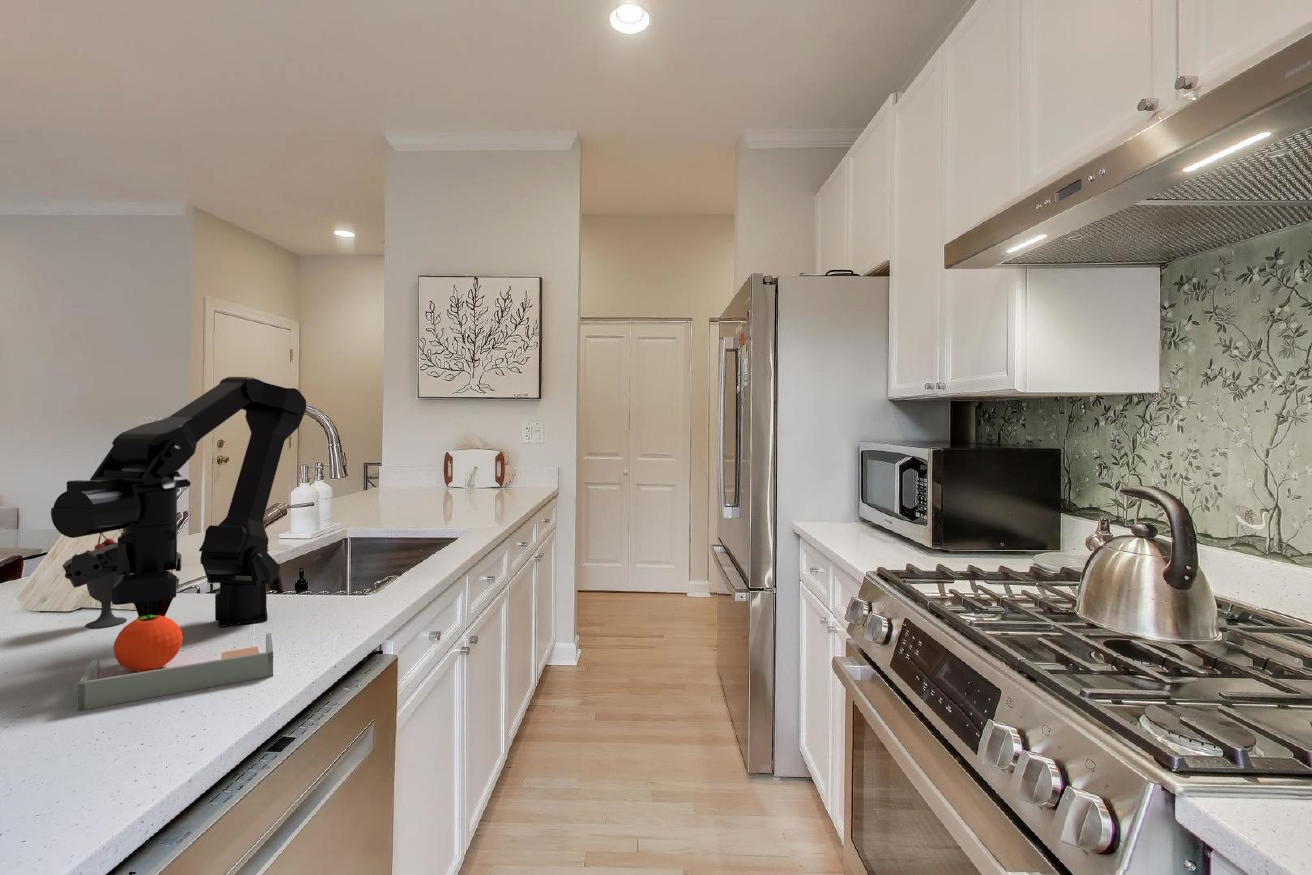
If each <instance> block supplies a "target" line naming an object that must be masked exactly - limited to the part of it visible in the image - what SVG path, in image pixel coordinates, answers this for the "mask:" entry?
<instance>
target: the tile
mask: <svg viewBox="0 0 1312 875" xmlns="http://www.w3.org/2000/svg"><path fill="white" fill-rule="evenodd" d="M257 653H260V651H259V647H258V646H252V647H247V648H240V649H235V650H229V651H224V652H221V653H220V654H221V655H220V656H221V659H226V658H232V657H239V656H245V655H251V654H257Z"/></svg>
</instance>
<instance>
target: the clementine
mask: <svg viewBox="0 0 1312 875" xmlns="http://www.w3.org/2000/svg"><path fill="white" fill-rule="evenodd" d="M183 638H184V637H183V632H182V629H181V628H180V626H179V624H178V623H176V622H175V621H174V620H173V619H171V618H170V617H166V616H165V617H164V616H160V615H152V614H150V615H144V616H137V618H136V619H134V620H133V621H131V622H130V623H128V624H127V625H125V626H124V627H123V628H122V629H121V630H120V632H118V635H117V636H116V638H115V641H114V642H113V643H114V644H113V649H112V651H113V655H114V658H115V660H116V661H117V662H118V664H119V665H120V666H121V667H123V668H124V669H126V670H130V671H133V672H135V673H139V672H145V671H151V670H157V669H161V668H162V667H164V666H166V665H167V664H168V663H170V662H172V660H173V659H174V658H175V657H176V656H177V655H178V654H179V651H180V649H181V648H182V644H183Z"/></svg>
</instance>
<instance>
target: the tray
mask: <svg viewBox="0 0 1312 875" xmlns="http://www.w3.org/2000/svg"><path fill="white" fill-rule="evenodd" d="M273 648H274V647H273V637H272V632H269V633H265V652H259V653H257V654H251V655H245V656H239V657H232V658H226V659H214V660H208V661H203V662H202V661H201V662H195V663H191V664H189V663H188V664H182V665H177V666H170V667H165V668H157V669H155V670H151V671H145V672H134V673H133V672H132V673H128V674H119V675H115V676H110V677H109V676H108V677H103V678H101V668H100V666H101V657H100V658H99V657H98V658H93V659H92V661H91V662H90V663H89V666H88V667H87V668H86V670H85V671H84V673H83V675H82V677H80V680H79V681H78V683H77V711H79V712H80V711H83V710H89V709H90V710H91V709H95V708H101V707H107V706H112V705H117V704H122V703H129V702H134V701H139V700H140V701H141V700H145V699H151V698H157V697H162V696H167V695H173V694H177V693H179V694H180V693H184V692H190V691H195V690H201V689H205V688H213V687H218V686H223V685H228V684H234V683H240V682H245V681H246V682H247V681H250V680H257V679H262V678H268V677H273V676H274V649H273Z"/></svg>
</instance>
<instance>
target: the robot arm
mask: <svg viewBox="0 0 1312 875" xmlns="http://www.w3.org/2000/svg"><path fill="white" fill-rule="evenodd" d="M241 410H243V411H245V416H244V418H245V420H246V423H247V426H248V428H249V431H250V436H249V440H248V443H247V446H246V450H245V454H244V458H243V460H242V464H241V467H240V470H239V474H238V477H237V480H236V484H235V487H234V490H233V491H234V492H233V495H232V497H231V501H230V505H229V509H228V510H227V515H226V517H225V518H224V519H223V520H222V521H221V522H220V523H219V524H218V525H215V524H214V525H213V524H211V525H209V526H208V527H207V528H206V530H205V534H204V539H203V542H202V545H201V546H200V547H199V549H198V552H201V553H200V563H199V564H201V566H202V567H203V570H204V574H205V577H206V580H207V582H208V584H219V590H216V591H215V594H214V595H215V596H214V597H215V598H214V600H215V601H214V604H215V606H214V609H215V610H214V611H215V612H214V614H215V615H214V617H215V618H214V620H215V621H216V622H217V621H218V627H220V628H221V627H227V626H228V627H229V626H234V625H235V626H236V625H242V624H243V625H244V624H251V623H257V622H264V621H267V620H268V619H269V618H268V617H269V616H268V610H267V608H268V607H267V606H268V605H267V599H268V598H267V594H268V590H267V584H270V583H273V581H274V580H277V579H278V577H279V574H280V573H279V572H280V569H281V566H280V564H279V563H278V562H277V561H276V560H275V559H274V558H273V557H272V556H271V555H270V554H269V552H268V546H269V537H268V534H267V532H266V529H265V527H264V524H263V521H264V518H265V514H266V510H267V507H268V506H267V505H268V503H269V500H270V499H269V498H270V494H271V492H272V488H273V484H274V480H275V478H276V474H277V470H278V466H279V462H280V460H281V459H280V458H281V454H282V451H283V449H284V448H283V447H284V444H285V441H286V440H287V439H288V438H289V437H290V436H291V435H292V434H293V433H294V432H295V431H296V430H297V429H298V428H299V427H300V425H301V422H302V420H303V419H304V418H303V417H304V415H305V413H306V411H307V400H306V398H305V396H304V395H302V393H301V392H300V390H299V389H297V388H294V387H283V386H280V385H277V384H273V383H272V384H271V383H268V382H264V381H262V380H260V379H258V378H255V377H253V376H227V377H225V378H223V379H221V380H220V381H219V383H218V384H217V385H215V387H213V388H211V389H209V390H208V391H206V392H205V393H203V394H202V395H200V396H199V397H197V398H196V399H194V400H193V401H191V402H190V403H188V404H187V405H185V406H183V407H182V408H180V409H179V410H177V411H176V412H174V413H173V414H171V415H170V416H168V417H166V418H163V419H160V420H156V421H151V422H148V423H144V424H141V425H137V426H135V427H133V428H130V429H128V430H126V431H123V432H121V433H119V434H118V435H117V436H116V437H115V438H114V439H113V441H112V442H111V444H112V447H111V449H110V450H109V451H108V453H107V455H105V457H104V458H103V460H102V461H101V463H100V464H99V465H98V467H97V468H96V470H95V472H94V473H93V474H92V476H91V478H90V479H89V480H88V479H87V480H83V479H77V480H76V479H74V480H68V481H66V491H64V492H62V493H61V494H59V496H58V497H57V498H56V499H55V501H54V505H53V507H51V509H50V515H51V516H50V517H51V521H52V524H53V526H54V528H55V529H56V530H57V531H58V533H59V534H62V535H63V536H65V537H67V538H69V539H70V538H71V539H76V538H81V537H86V536H91V535H95V534H100V533H103V534H104V533H107V532H111V531H118V530H122V532H121V533H120V536H118V537H117V543H114V544H111V545H108V546H105V547H102V548H99V549H96V550H95V549H93V550H90V549H88V550H85V552H84V551H83V552H81V553H80V554H77V553H76V554H74V555H73V556H72V557H71V558H69V559H67V560H66V561H65V562H64V563H63V564H62V568H63V570H64V572H65V574H64V578H65V579H68V580H69V581H70V584H71V585H72V587H73V588H78V587H81V586H84V585H87V582H88V581H91V580H94V579H97V578H99V577H102V576H105V575H107V574H110V573H113V572H115V571H117V576H121V575H124V576H123V577H122V578H121V579H120V580H118V581H117V582H116V583H115V585H114V587H113V589H112V602H111V606H113V605H115V606H120V605H129V604H133V605H134V606H135V610H136V612H137V617H139V616H144V615H150V614H152V615H160V616H164V617H166V614H167V612H168V610H169V608H170V606H171V604H172V602H173V600H174V598H177V594H178V588H179V582H180V581H179V580H180V578H178V576H177V575H175V574H174V573H173V572H171V571H173V570H174V571H175V572H180V571H182V554H181V553H179V552H178V534H179V533H178V532H179V531H178V528H179V527H178V489H181V488H188V487H191V484H192V483H191V481H190V480H189V479H187V478H185V477H184V476H182V475H181V474H180V472H179V470H180V469H182V467H183V466H184V465H185V464H186V463H187V462H188V461H189V460H190V459H191V458H192V457H193V456H194V455H195V453H196V449H197V444H198V442H200V441H201V439H203V438H204V437H205V436H207V435H208V434H210V433H211V432H212V431H214V430H215V429H216V428H217V427H219V426H221V425H222V424H223V423H224V422H226V421H228V420H229V419H230V418H232V417H233V416H234V415H235V414H237V413H238V412H240V411H241Z"/></svg>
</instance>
